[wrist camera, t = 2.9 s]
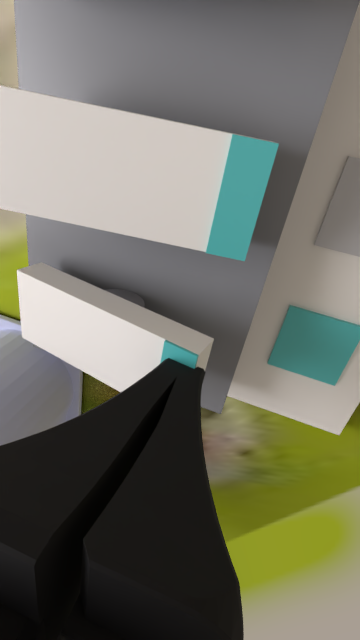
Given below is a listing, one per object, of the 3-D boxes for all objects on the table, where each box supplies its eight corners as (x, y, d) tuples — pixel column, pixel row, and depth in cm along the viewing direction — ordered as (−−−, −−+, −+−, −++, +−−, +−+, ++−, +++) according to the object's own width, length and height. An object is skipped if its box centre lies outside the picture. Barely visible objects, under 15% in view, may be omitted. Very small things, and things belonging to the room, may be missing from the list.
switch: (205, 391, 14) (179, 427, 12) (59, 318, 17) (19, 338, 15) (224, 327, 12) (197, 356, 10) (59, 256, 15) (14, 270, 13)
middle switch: (241, 239, 12) (244, 261, 10) (24, 193, 12) (-14, 206, 10) (268, 139, 11) (279, 144, 9) (18, 88, 11) (-29, 79, 9)
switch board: (337, 421, 18) (344, 476, 15) (43, 320, 21) (1, 349, 18) (734, -246, 7) (1024, -504, 4) (23, -252, 10) (-86, -407, 8)
